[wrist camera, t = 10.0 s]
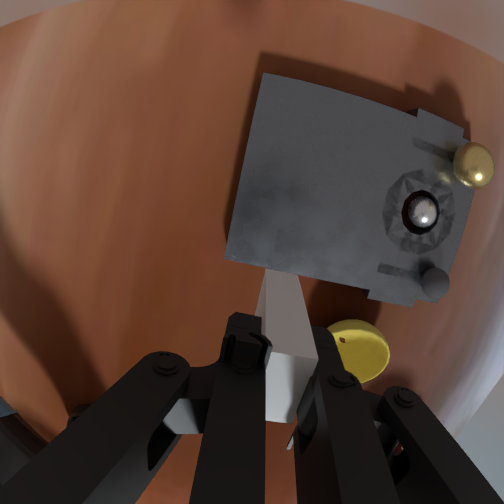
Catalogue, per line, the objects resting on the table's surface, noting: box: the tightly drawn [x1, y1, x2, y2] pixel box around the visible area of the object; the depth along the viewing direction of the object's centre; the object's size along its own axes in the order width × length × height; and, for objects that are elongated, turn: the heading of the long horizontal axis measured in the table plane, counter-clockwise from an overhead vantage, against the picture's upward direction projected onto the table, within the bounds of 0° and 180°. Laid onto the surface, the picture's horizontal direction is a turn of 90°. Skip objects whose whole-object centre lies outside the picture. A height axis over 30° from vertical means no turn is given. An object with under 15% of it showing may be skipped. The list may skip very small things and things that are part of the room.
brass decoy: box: [453, 142, 495, 189], centre depth 24 cm, size 5×5×5 cm
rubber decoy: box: [421, 268, 450, 299], centre depth 29 cm, size 3×3×3 cm
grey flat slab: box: [224, 72, 475, 307], centre depth 29 cm, size 24×20×2 cm
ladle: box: [327, 319, 390, 383], centre depth 37 cm, size 9×26×6 cm, turn 122°
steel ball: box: [408, 196, 437, 227], centre depth 29 cm, size 3×3×3 cm
